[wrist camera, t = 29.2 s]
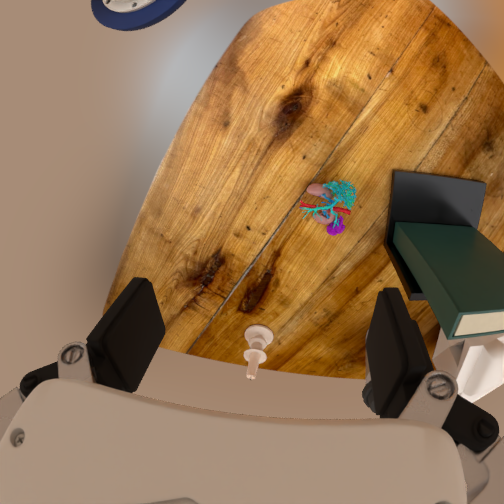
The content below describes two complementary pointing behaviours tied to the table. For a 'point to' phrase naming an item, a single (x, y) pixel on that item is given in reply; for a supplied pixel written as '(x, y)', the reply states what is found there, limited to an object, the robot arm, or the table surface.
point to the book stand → (429, 211)
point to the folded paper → (472, 363)
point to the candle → (256, 347)
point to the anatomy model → (331, 216)
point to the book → (456, 276)
